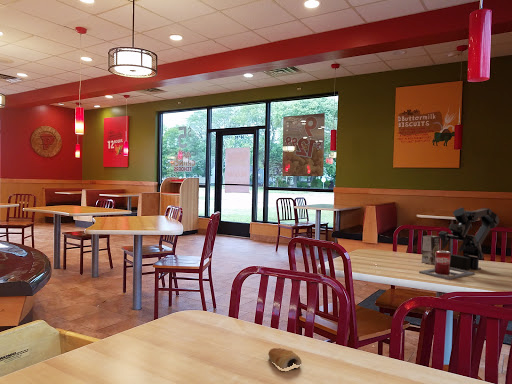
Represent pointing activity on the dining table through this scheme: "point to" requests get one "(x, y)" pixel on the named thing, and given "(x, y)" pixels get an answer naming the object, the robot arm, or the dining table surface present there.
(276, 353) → the pastry
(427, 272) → the label frame
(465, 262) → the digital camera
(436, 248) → the coffee box
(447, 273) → the soda can
